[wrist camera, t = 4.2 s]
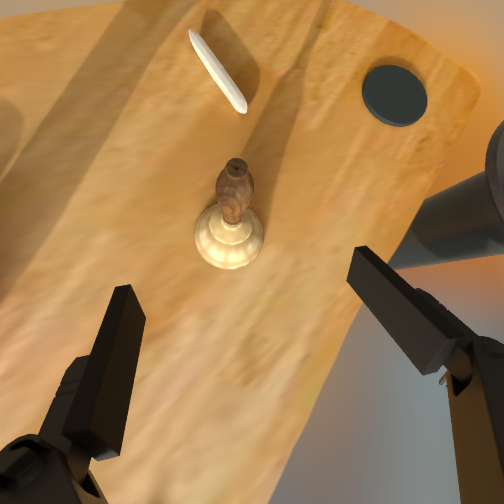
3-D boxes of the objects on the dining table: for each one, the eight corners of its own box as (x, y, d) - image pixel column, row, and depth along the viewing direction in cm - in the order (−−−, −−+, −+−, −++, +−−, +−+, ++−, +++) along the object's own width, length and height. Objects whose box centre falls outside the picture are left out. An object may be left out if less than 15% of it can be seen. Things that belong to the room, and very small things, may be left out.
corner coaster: (422, 75, 37) (425, 71, 36) (426, 131, 35) (429, 128, 34) (361, 63, 36) (364, 59, 35) (361, 120, 34) (364, 117, 33)
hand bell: (272, 256, 29) (331, 210, 13) (206, 278, 27) (185, 256, 12) (250, 194, 30) (280, 85, 14) (185, 213, 29) (140, 114, 13)
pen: (194, 36, 33) (192, 23, 32) (250, 114, 32) (251, 104, 30) (184, 40, 33) (182, 27, 31) (240, 119, 32) (241, 109, 30)
